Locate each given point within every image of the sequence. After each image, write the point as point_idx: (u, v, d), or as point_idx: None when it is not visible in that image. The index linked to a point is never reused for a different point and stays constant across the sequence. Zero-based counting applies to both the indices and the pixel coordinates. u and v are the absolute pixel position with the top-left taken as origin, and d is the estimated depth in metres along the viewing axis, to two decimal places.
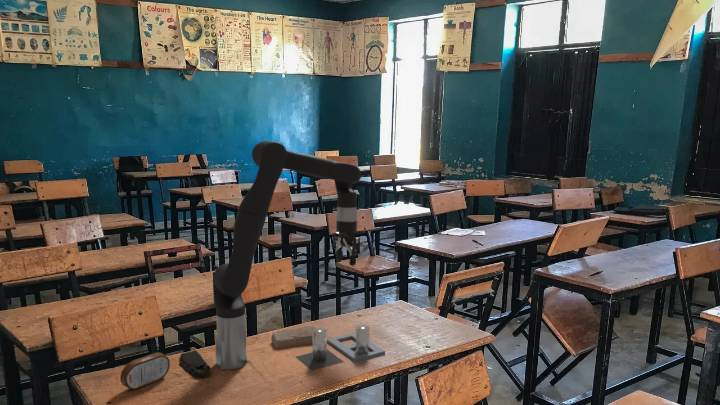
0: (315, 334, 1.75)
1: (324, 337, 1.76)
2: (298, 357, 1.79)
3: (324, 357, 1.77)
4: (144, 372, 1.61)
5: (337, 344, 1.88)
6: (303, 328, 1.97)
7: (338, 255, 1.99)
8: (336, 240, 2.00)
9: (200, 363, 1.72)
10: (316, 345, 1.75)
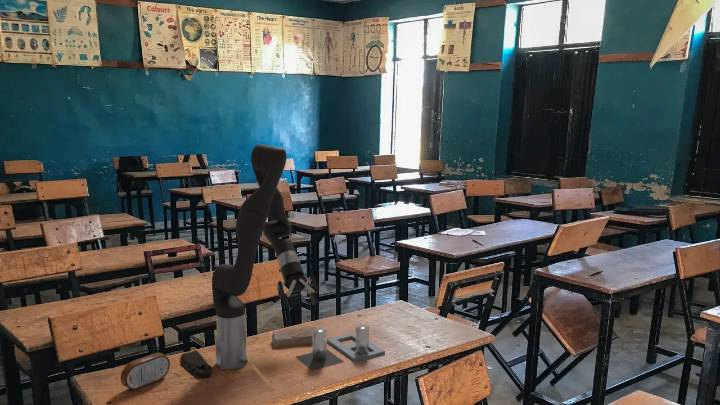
0: (315, 334, 1.75)
1: (324, 337, 1.76)
2: (298, 357, 1.79)
3: (324, 357, 1.77)
4: (144, 372, 1.61)
5: (337, 344, 1.88)
6: (304, 328, 1.96)
7: None
8: None
9: (201, 363, 1.72)
10: (316, 345, 1.75)
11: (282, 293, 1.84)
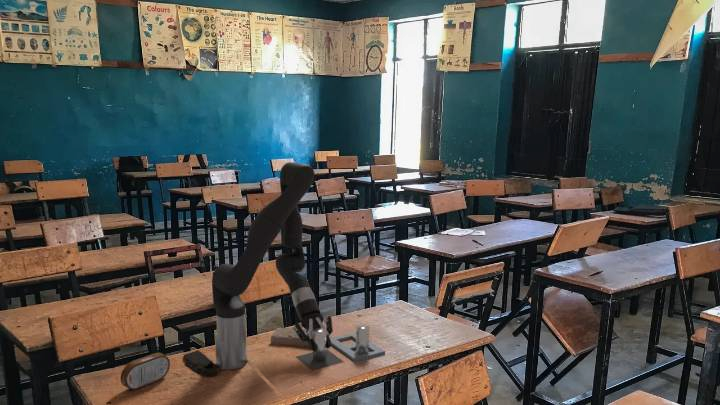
0: (315, 334, 1.75)
1: (324, 337, 1.76)
2: (298, 357, 1.79)
3: (324, 357, 1.77)
4: (144, 372, 1.61)
5: (337, 344, 1.88)
6: None
7: None
8: None
9: (207, 362, 1.73)
10: (316, 345, 1.75)
11: (304, 335, 1.75)
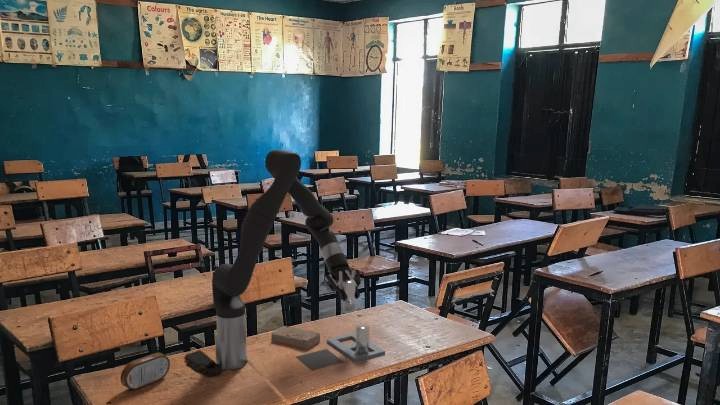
0: (345, 284, 1.86)
1: (353, 287, 1.87)
2: (298, 357, 1.79)
3: (353, 306, 1.88)
4: (144, 372, 1.61)
5: (337, 344, 1.88)
6: (308, 331, 1.94)
7: None
8: None
9: (209, 362, 1.73)
10: (346, 295, 1.86)
11: (335, 285, 1.86)
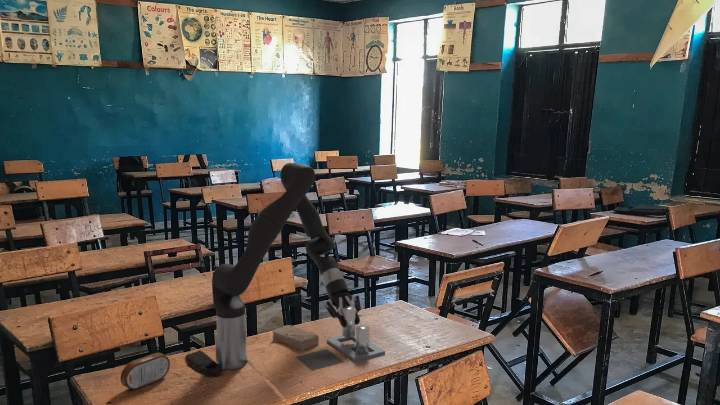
0: (345, 311, 1.87)
1: (353, 314, 1.88)
2: (298, 357, 1.79)
3: (353, 333, 1.89)
4: (144, 372, 1.61)
5: (337, 344, 1.88)
6: (307, 332, 1.93)
7: None
8: None
9: (210, 362, 1.73)
10: (346, 321, 1.88)
11: (335, 312, 1.88)
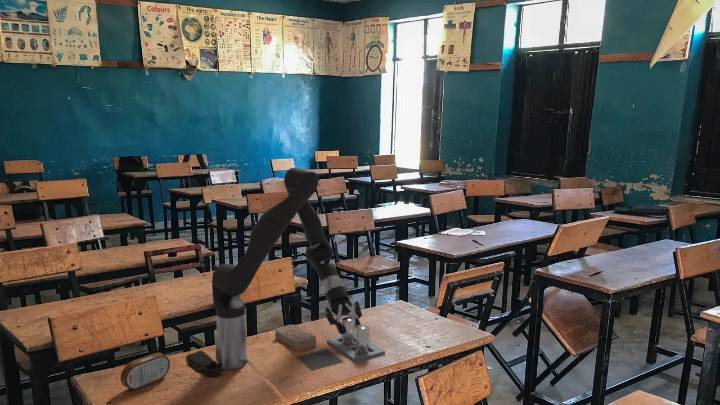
0: (345, 322, 1.88)
1: (353, 325, 1.89)
2: (298, 357, 1.79)
3: None
4: (144, 372, 1.61)
5: (337, 344, 1.88)
6: (307, 333, 1.92)
7: None
8: None
9: (210, 362, 1.73)
10: (345, 333, 1.88)
11: (333, 319, 1.88)
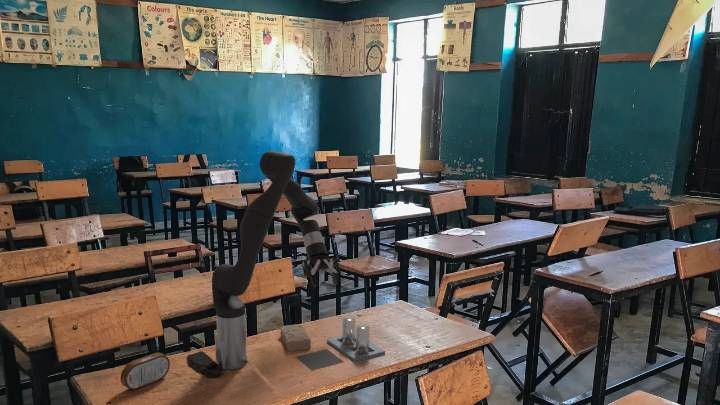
0: (345, 322, 1.88)
1: (353, 325, 1.89)
2: (298, 357, 1.79)
3: None
4: (144, 372, 1.61)
5: (337, 344, 1.88)
6: (304, 335, 1.90)
7: None
8: None
9: (211, 363, 1.72)
10: (346, 333, 1.88)
11: (307, 271, 1.95)
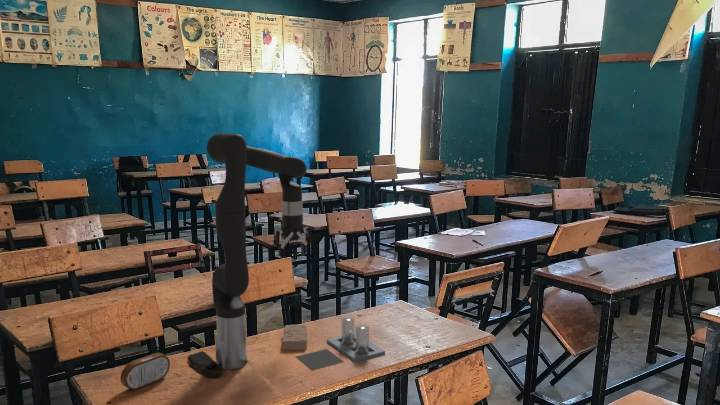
0: (344, 322, 1.88)
1: (352, 325, 1.89)
2: (298, 357, 1.79)
3: None
4: (144, 372, 1.61)
5: (337, 344, 1.88)
6: (302, 336, 1.90)
7: None
8: None
9: (211, 363, 1.72)
10: (345, 333, 1.88)
11: (277, 244, 1.92)
